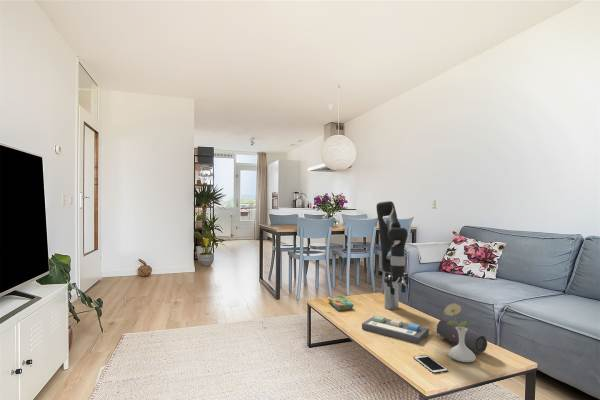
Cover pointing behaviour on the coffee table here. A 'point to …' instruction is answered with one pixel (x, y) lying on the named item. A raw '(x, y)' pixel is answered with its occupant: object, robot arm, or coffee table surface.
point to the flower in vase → (460, 350)
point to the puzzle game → (340, 303)
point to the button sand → (396, 323)
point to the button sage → (379, 319)
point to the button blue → (414, 327)
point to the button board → (396, 330)
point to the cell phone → (430, 364)
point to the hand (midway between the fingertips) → (398, 293)
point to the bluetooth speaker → (472, 338)
